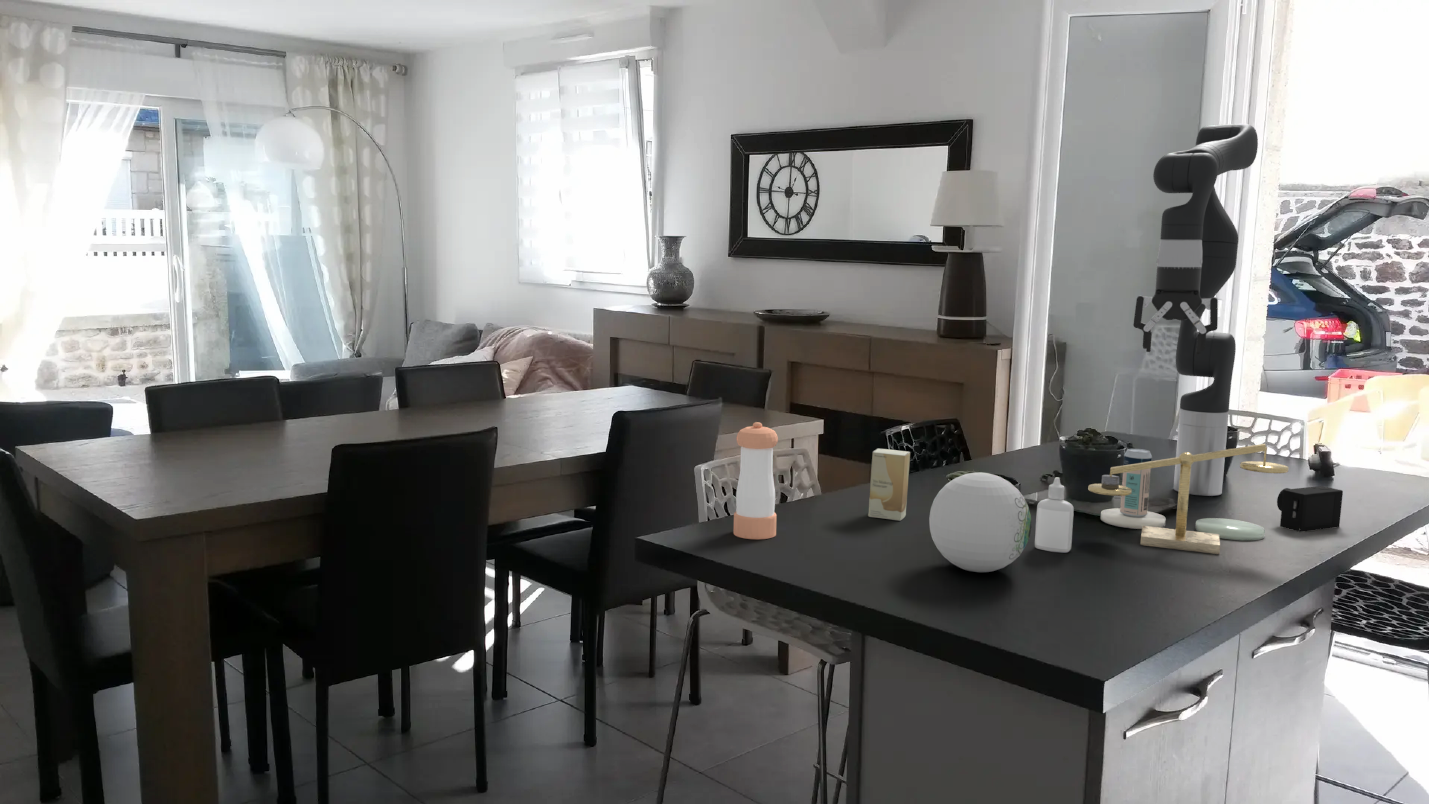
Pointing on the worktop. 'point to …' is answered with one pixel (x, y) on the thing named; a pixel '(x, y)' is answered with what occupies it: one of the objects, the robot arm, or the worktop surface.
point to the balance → (1182, 497)
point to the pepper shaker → (756, 484)
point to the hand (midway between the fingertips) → (1173, 352)
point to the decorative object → (980, 522)
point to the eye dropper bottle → (1054, 521)
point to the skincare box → (889, 484)
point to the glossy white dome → (1132, 519)
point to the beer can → (1136, 484)
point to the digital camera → (1310, 508)
